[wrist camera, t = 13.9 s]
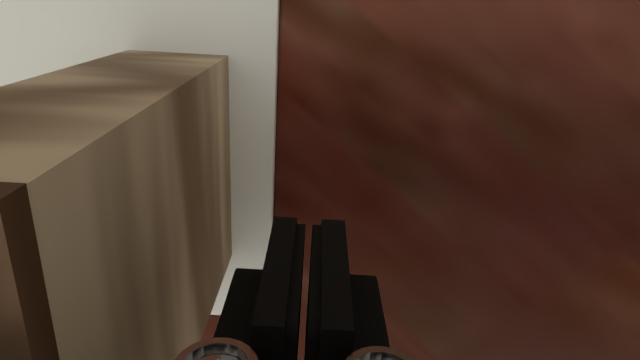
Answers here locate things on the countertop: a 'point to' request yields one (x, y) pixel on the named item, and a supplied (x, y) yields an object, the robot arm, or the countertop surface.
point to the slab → (114, 206)
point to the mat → (179, 37)
